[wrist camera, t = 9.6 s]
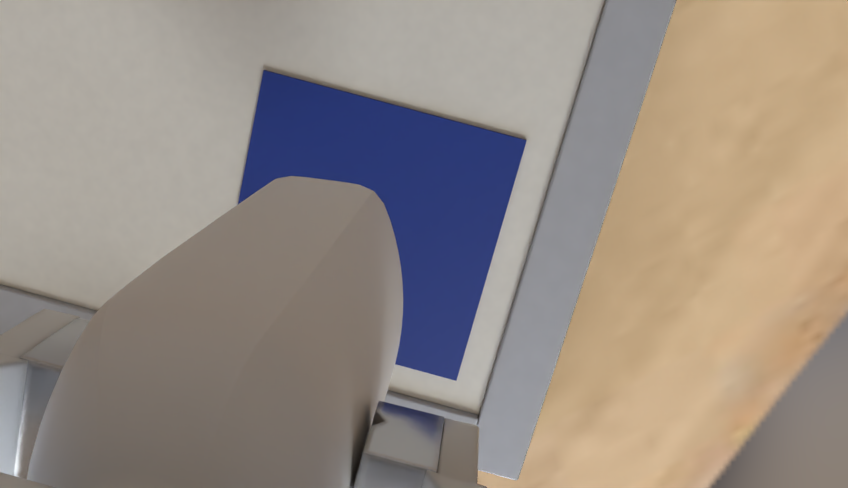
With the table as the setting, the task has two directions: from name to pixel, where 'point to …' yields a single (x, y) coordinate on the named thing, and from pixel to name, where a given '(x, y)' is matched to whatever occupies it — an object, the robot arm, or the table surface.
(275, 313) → the eye dropper bottle
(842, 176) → the table surface
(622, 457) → the table surface
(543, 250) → the whiteboard
